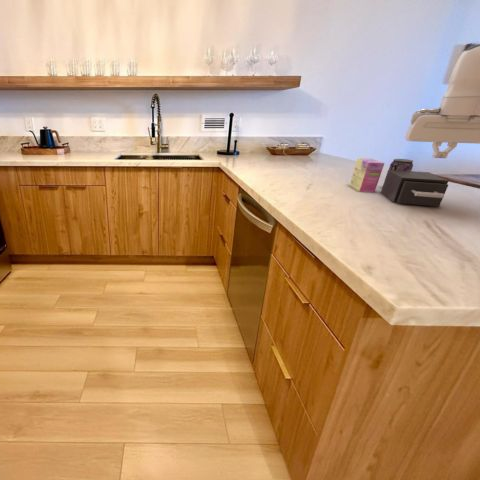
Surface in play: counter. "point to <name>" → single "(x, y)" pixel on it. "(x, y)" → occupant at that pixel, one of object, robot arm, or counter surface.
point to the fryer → (397, 177)
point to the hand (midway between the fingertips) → (439, 157)
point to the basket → (422, 193)
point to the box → (366, 174)
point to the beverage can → (401, 165)
